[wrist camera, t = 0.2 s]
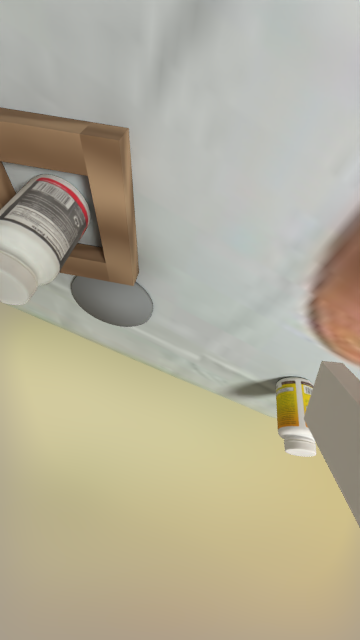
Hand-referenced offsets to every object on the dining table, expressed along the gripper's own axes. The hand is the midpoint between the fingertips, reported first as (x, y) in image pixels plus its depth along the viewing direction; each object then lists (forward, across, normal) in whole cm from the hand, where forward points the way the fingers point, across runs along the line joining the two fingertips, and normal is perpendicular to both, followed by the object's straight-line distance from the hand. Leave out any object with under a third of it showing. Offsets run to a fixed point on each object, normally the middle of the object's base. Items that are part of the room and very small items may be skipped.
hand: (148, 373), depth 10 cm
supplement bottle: (+28, +19, -18) cm, 38 cm away
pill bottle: (+15, -10, +6) cm, 20 cm away
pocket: (+15, -10, +6) cm, 19 cm away
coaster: (+21, -8, -4) cm, 23 cm away
